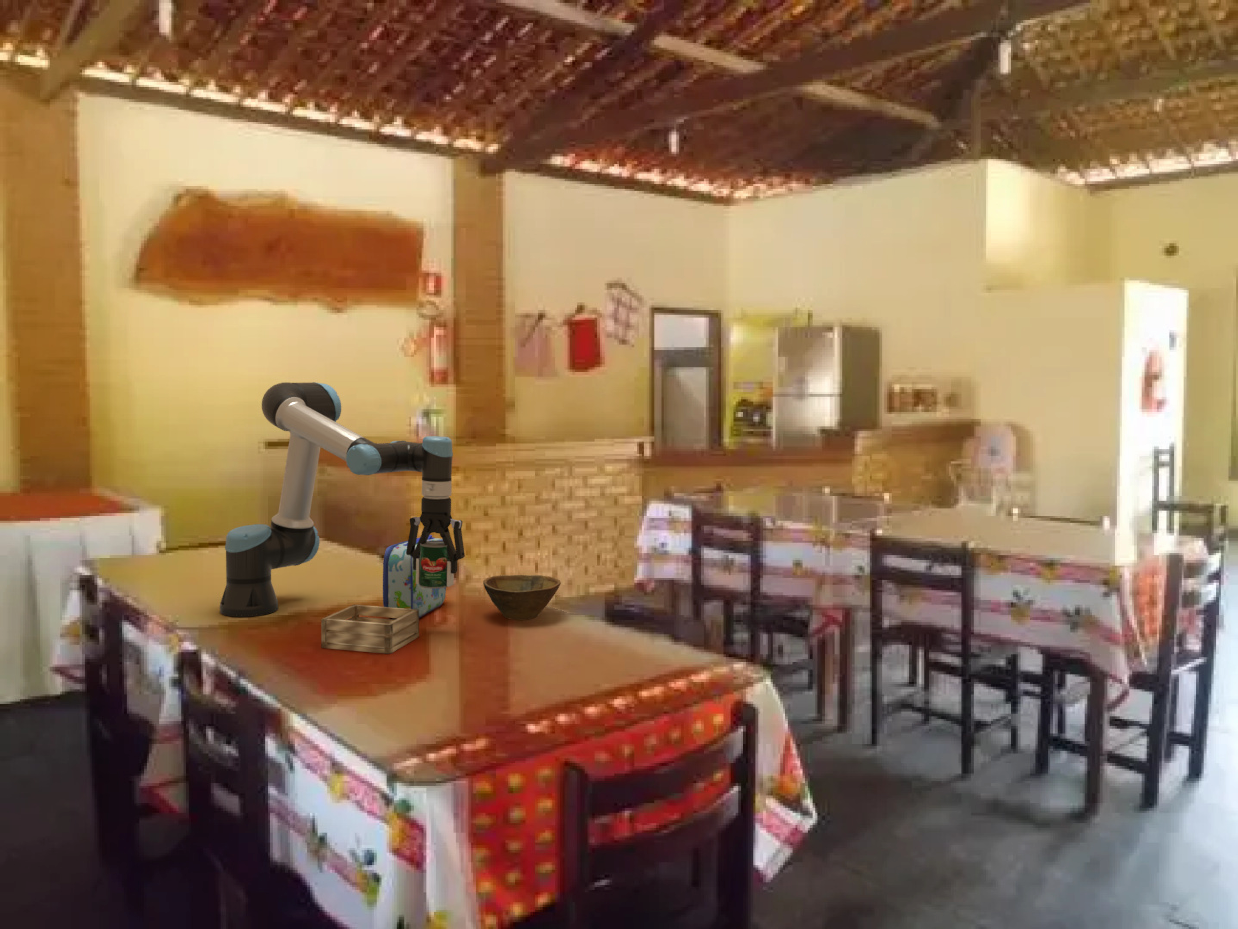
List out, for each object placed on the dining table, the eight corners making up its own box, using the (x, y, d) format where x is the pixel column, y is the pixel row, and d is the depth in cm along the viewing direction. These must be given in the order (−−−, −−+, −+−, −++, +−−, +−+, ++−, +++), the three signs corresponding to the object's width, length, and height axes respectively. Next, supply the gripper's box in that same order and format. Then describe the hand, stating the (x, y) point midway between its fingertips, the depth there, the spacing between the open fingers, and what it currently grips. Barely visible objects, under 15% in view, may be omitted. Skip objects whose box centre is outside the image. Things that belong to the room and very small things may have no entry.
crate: (321, 647, 229) (321, 619, 228) (354, 631, 244) (354, 604, 244) (389, 653, 225) (389, 625, 224) (418, 636, 240) (418, 609, 240)
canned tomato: (424, 589, 240) (424, 546, 239) (415, 583, 247) (416, 541, 245) (454, 587, 243) (455, 545, 242) (445, 580, 250) (445, 539, 249)
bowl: (575, 612, 269) (576, 577, 268) (535, 630, 249) (535, 593, 248) (509, 603, 278) (510, 570, 278) (465, 620, 258) (465, 584, 257)
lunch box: (416, 600, 280) (417, 530, 278) (451, 602, 278) (451, 532, 276) (377, 621, 255) (377, 544, 253) (414, 624, 253) (414, 546, 251)
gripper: (392, 495, 241) (391, 583, 244) (468, 501, 237) (466, 590, 239) (405, 492, 249) (404, 577, 251) (479, 497, 244) (477, 584, 246)
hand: (434, 583), depth 245 cm, fingers closed on canned tomato, 8 cm apart
